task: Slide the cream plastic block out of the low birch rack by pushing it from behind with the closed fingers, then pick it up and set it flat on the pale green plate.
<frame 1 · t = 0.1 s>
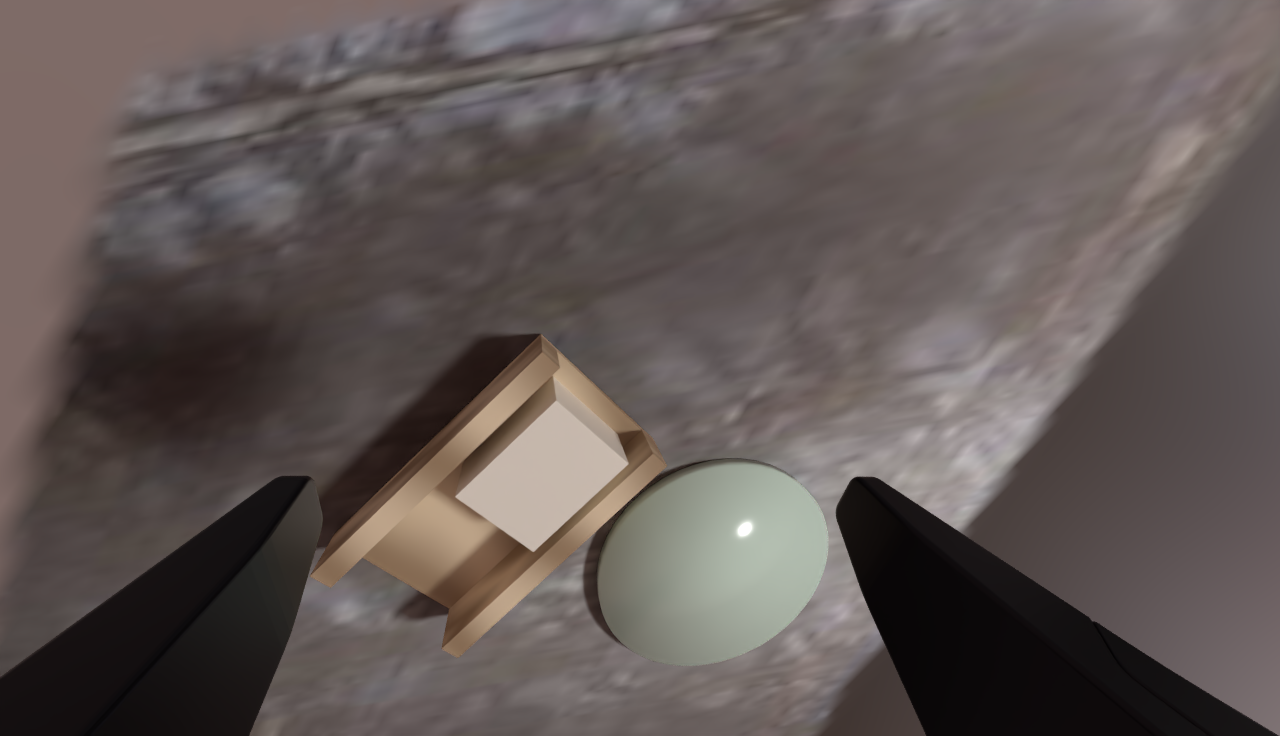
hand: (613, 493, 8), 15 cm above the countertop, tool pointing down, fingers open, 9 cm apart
cream block: (542, 447, 24), resting on birch rack
birch rack: (499, 484, 25), on the countertop
green plate: (713, 563, 29), on the countertop
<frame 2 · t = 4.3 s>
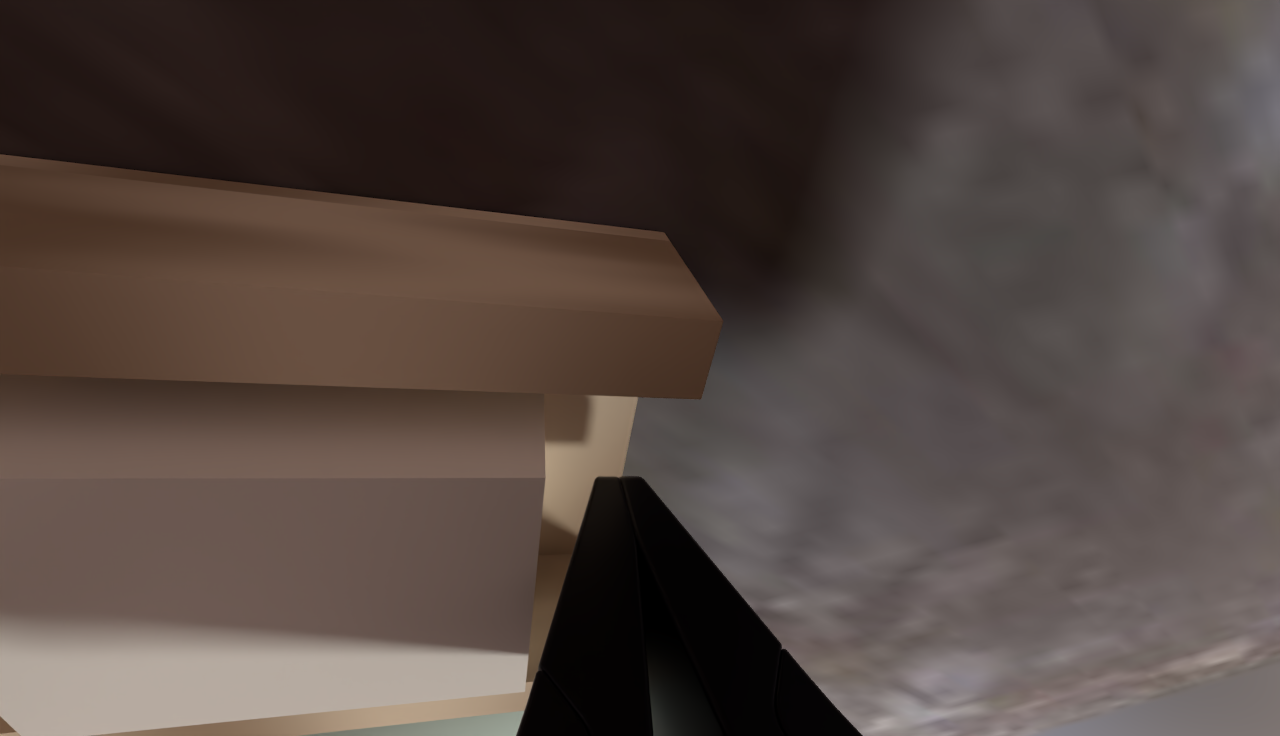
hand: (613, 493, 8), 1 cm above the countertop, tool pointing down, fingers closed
cream block: (348, 444, 8), resting on birch rack, touching gripper
birch rack: (197, 427, 8), on the countertop
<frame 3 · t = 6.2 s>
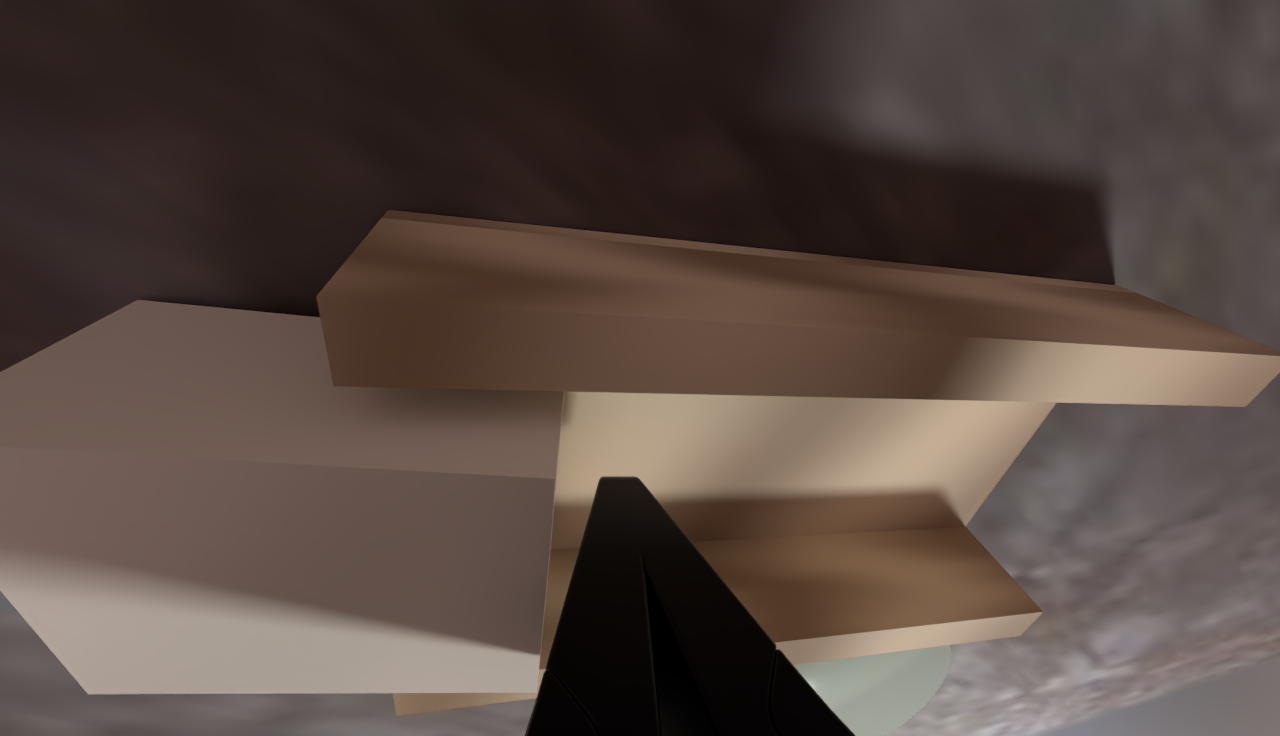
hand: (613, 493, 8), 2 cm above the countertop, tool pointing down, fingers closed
cream block: (383, 438, 9), on the countertop, tilted 7°, touching gripper
birch rack: (760, 432, 11), on the countertop
green plate: (758, 703, 18), on the countertop
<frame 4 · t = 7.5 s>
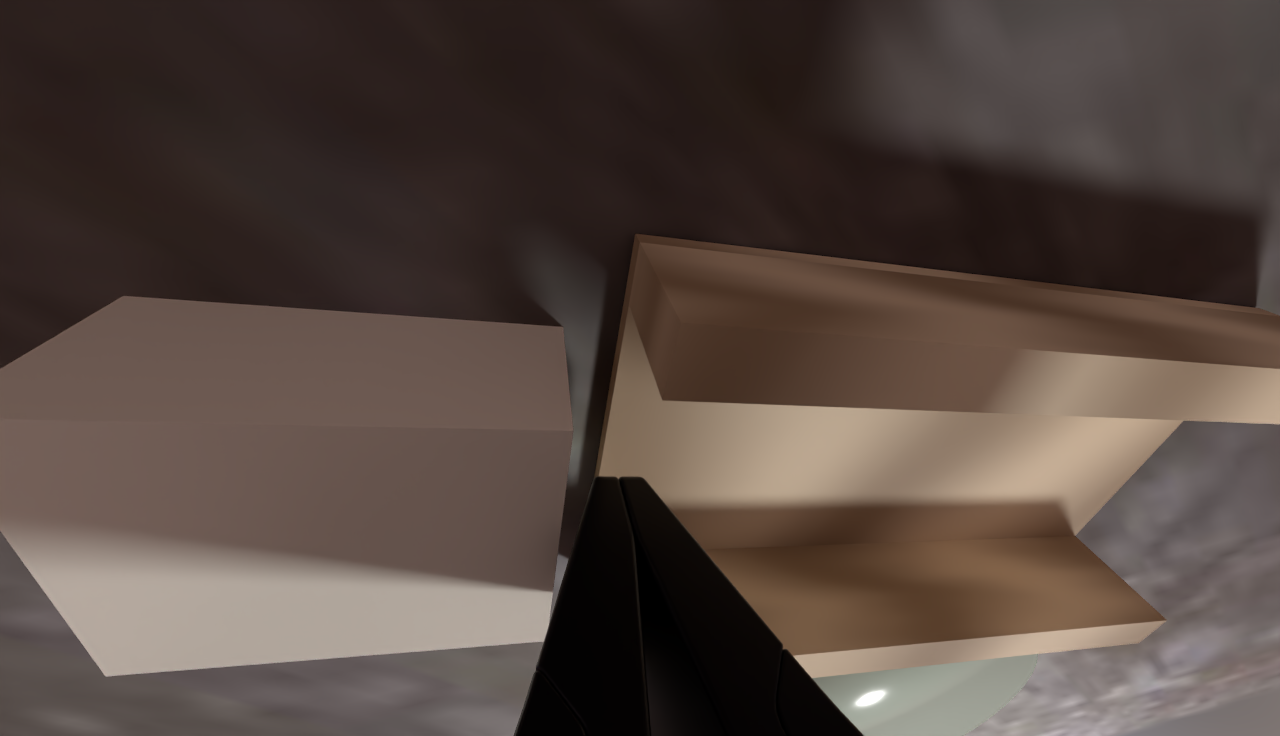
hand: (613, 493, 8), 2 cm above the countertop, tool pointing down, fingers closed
cream block: (383, 418, 9), on the countertop
birch rack: (906, 442, 11), on the countertop
green plate: (841, 703, 19), on the countertop
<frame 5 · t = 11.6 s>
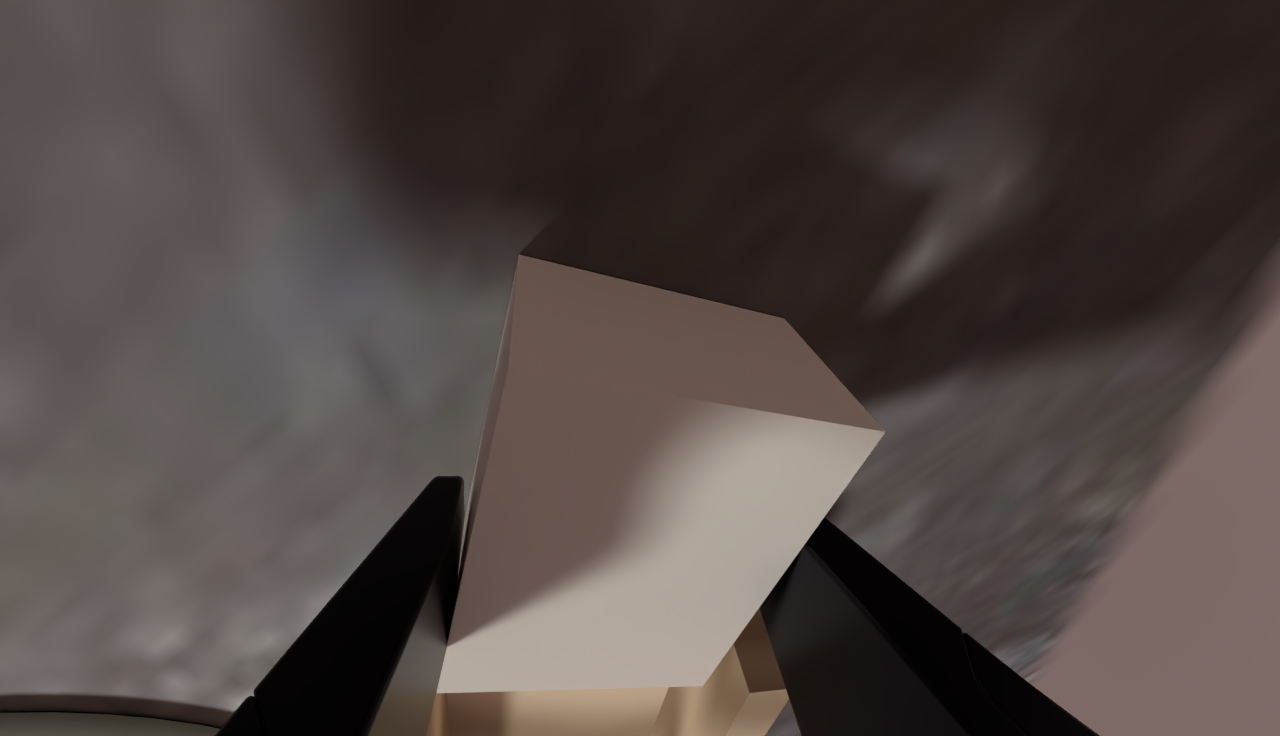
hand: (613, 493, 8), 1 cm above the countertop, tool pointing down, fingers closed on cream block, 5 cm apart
cream block: (609, 433, 9), on the countertop, touching gripper
birch rack: (557, 714, 15), on the countertop
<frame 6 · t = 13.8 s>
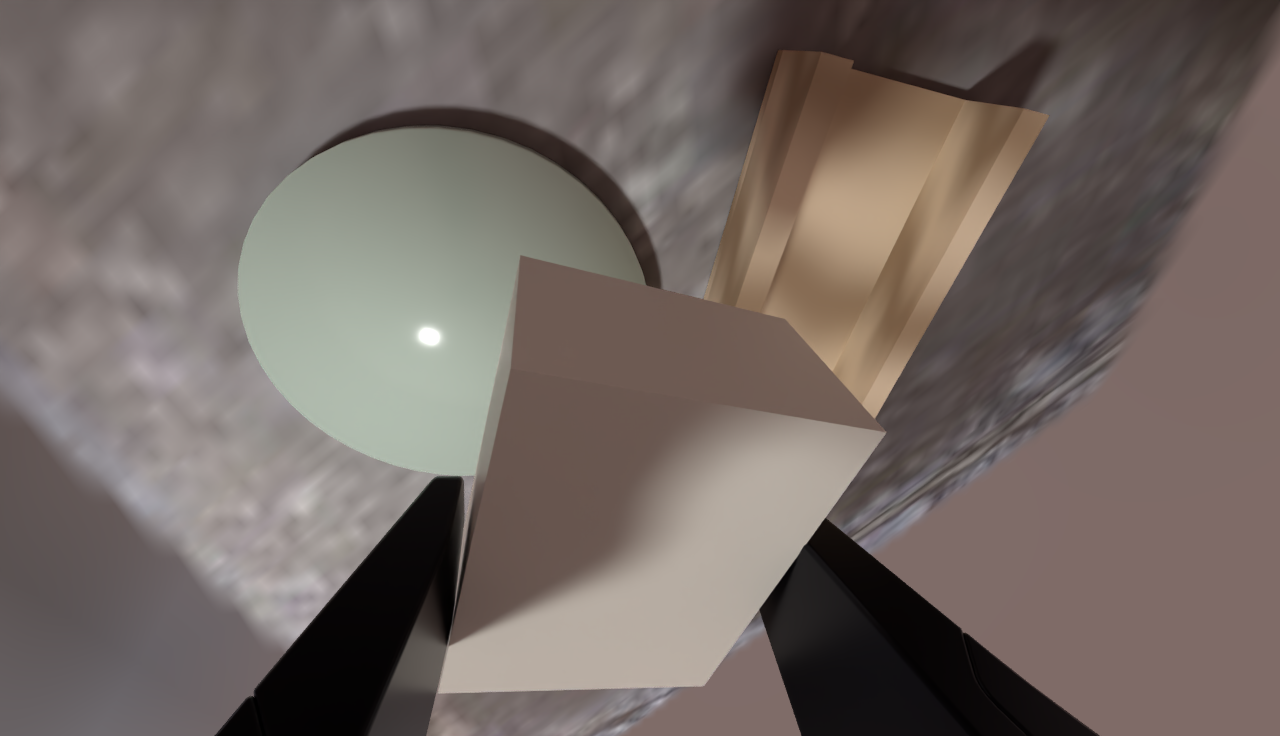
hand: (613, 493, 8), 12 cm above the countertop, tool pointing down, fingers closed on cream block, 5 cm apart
cream block: (611, 434, 9), point 10 cm above the countertop, touching gripper
birch rack: (805, 274, 20), on the countertop
green plate: (466, 328, 19), on the countertop
when the fingers open (3 cm above the countertop, at t = 16.1 s): cream block drops 1 cm, resting on green plate.
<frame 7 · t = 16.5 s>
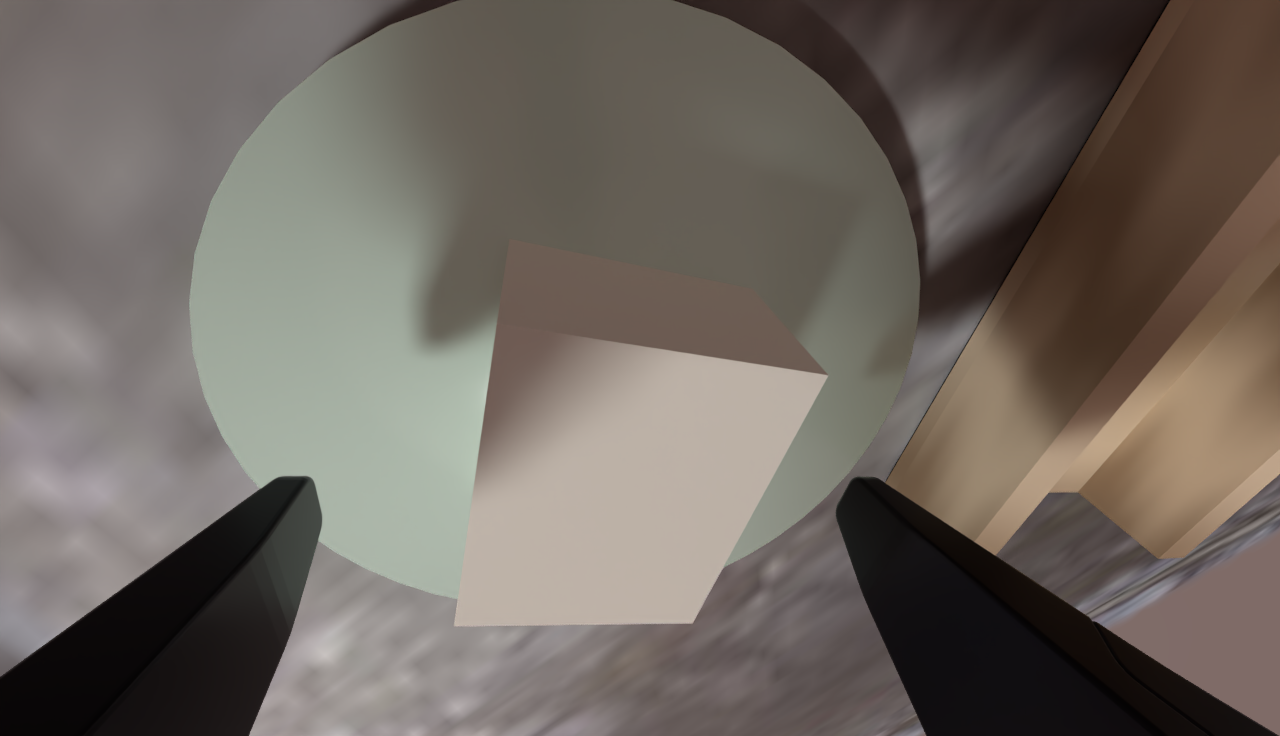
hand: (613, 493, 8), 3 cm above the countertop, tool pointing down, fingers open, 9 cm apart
cream block: (601, 400, 10), point 1 cm above the countertop, touching green plate
birch rack: (1149, 274, 12), on the countertop
green plate: (595, 387, 11), on the countertop
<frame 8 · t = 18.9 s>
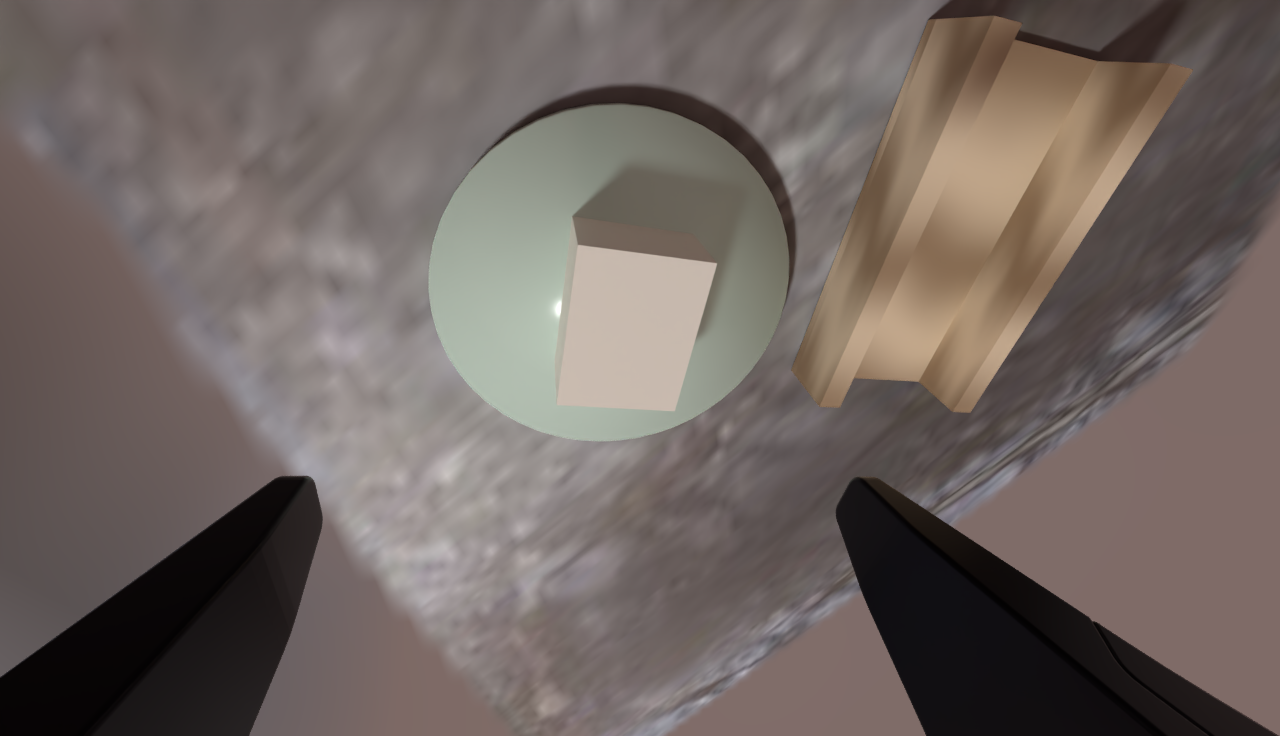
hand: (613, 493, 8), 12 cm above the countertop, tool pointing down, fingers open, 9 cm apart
cream block: (620, 300, 19), point 1 cm above the countertop, touching green plate
birch rack: (929, 237, 21), on the countertop
green plate: (616, 297, 20), on the countertop
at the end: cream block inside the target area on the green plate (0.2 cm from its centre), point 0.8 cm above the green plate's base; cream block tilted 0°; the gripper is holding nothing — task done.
